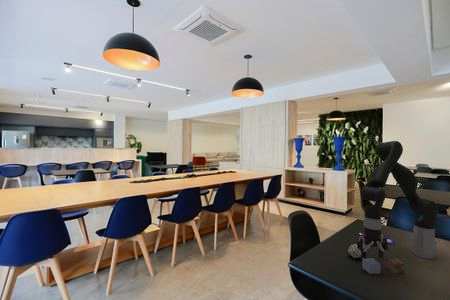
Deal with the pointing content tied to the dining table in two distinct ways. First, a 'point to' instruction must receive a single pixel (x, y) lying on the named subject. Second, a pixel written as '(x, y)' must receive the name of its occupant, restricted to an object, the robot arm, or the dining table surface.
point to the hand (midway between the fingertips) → (372, 258)
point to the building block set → (381, 236)
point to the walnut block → (395, 265)
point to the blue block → (371, 266)
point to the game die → (354, 251)
